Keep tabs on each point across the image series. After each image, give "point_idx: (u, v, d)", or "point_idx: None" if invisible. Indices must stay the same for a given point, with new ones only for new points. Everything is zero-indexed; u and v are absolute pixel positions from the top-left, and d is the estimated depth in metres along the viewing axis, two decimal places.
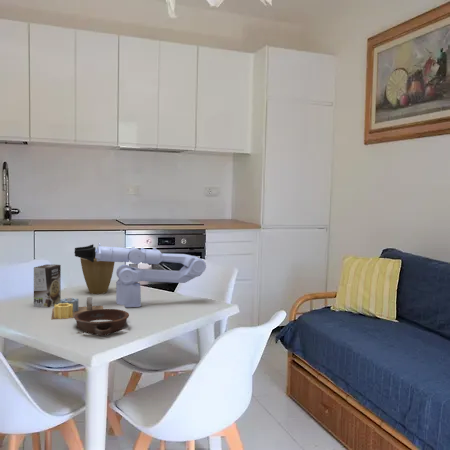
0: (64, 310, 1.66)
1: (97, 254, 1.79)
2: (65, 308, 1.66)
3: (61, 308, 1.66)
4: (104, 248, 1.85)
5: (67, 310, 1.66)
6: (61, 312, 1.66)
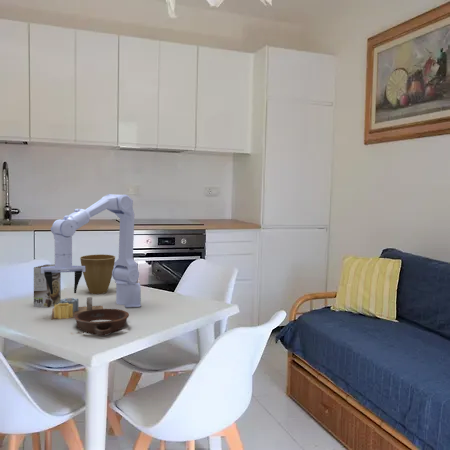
0: (64, 310, 1.66)
1: None
2: (65, 308, 1.66)
3: (61, 308, 1.66)
4: (68, 263, 1.66)
5: (67, 310, 1.66)
6: (61, 312, 1.66)
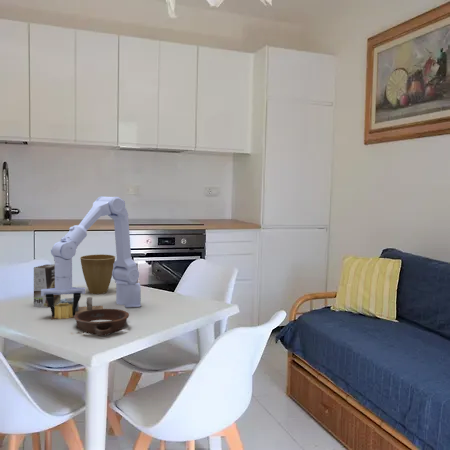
0: (64, 310, 1.66)
1: None
2: (65, 308, 1.66)
3: (61, 308, 1.66)
4: (68, 285, 1.66)
5: (67, 310, 1.66)
6: (61, 312, 1.66)
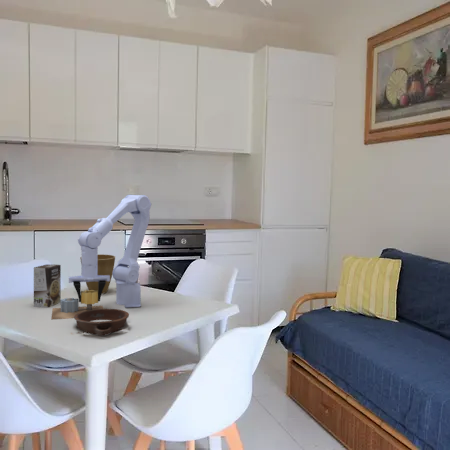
0: (90, 296, 1.76)
1: (109, 279, 1.80)
2: (91, 294, 1.76)
3: (87, 294, 1.76)
4: (94, 273, 1.76)
5: (93, 296, 1.76)
6: (87, 298, 1.76)
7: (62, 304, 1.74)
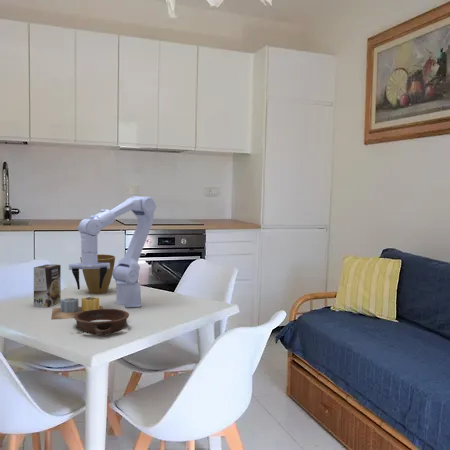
0: (91, 303, 1.77)
1: (109, 266, 1.80)
2: (92, 301, 1.77)
3: (88, 301, 1.76)
4: (94, 260, 1.76)
5: (94, 303, 1.77)
6: (88, 305, 1.76)
7: (62, 304, 1.74)
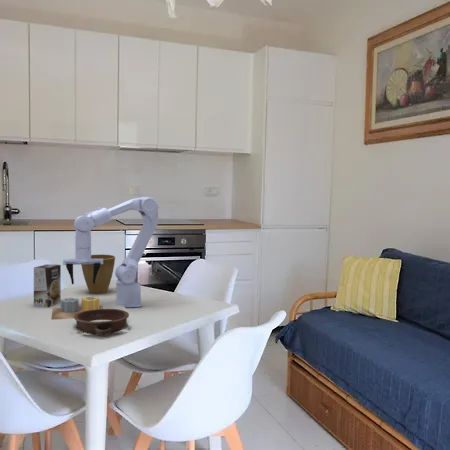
0: (91, 303, 1.77)
1: None
2: (92, 301, 1.77)
3: (88, 301, 1.76)
4: (88, 256, 1.81)
5: (94, 303, 1.77)
6: (88, 305, 1.76)
7: (62, 304, 1.74)
